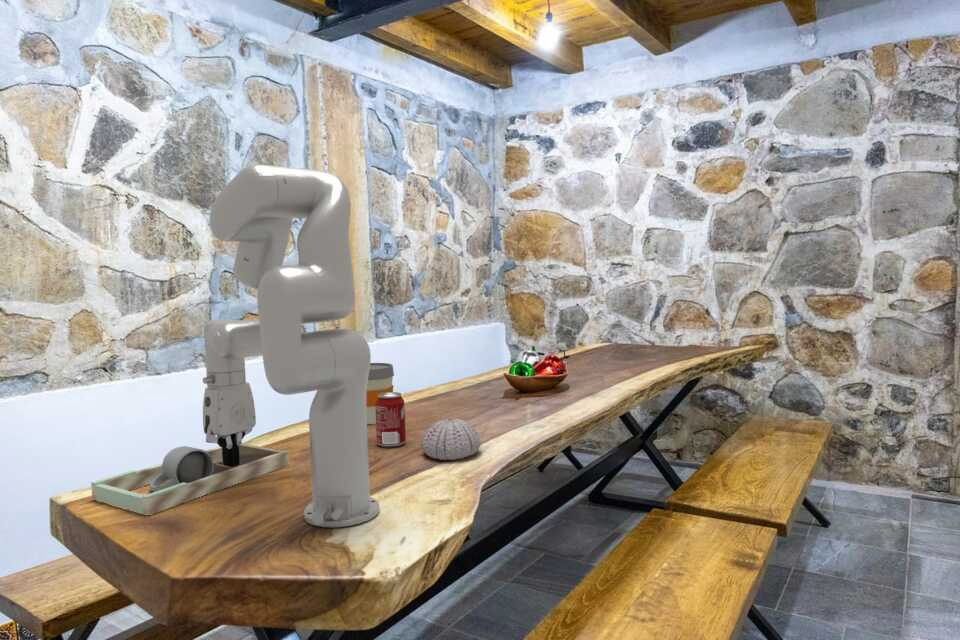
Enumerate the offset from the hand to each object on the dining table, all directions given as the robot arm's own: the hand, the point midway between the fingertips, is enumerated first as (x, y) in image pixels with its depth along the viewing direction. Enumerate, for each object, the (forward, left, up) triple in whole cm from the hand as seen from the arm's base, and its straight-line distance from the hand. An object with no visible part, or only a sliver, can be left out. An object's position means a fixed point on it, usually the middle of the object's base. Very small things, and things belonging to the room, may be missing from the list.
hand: (231, 464), depth 138 cm
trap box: (-7, +4, -1) cm, 8 cm away
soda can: (+19, -30, -1) cm, 36 cm away
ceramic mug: (-10, +6, -1) cm, 12 cm away
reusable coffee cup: (+43, -20, -1) cm, 47 cm away
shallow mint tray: (-18, +9, -1) cm, 20 cm away
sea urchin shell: (+11, -45, -1) cm, 47 cm away
